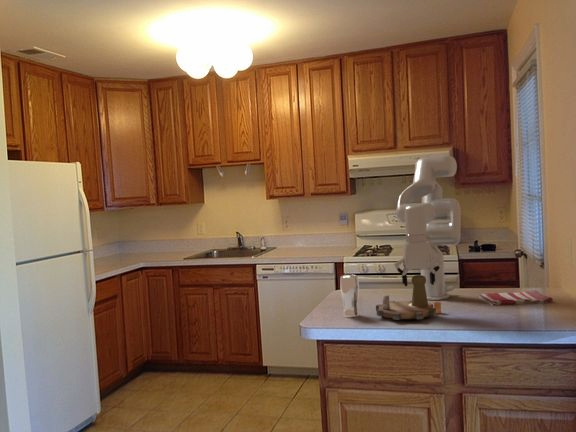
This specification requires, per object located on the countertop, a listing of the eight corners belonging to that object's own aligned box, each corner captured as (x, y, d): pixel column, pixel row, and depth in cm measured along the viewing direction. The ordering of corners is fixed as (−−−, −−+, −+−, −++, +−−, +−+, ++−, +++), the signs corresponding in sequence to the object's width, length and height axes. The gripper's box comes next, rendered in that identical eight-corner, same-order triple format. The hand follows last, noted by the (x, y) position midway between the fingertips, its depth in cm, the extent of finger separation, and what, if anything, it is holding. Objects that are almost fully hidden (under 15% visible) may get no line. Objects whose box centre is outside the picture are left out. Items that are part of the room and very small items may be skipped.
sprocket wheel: (416, 303, 196) (416, 285, 196) (448, 315, 175) (447, 295, 175) (365, 309, 190) (364, 291, 190) (391, 322, 169) (390, 302, 169)
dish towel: (554, 304, 190) (554, 297, 190) (492, 307, 191) (492, 300, 191) (533, 295, 207) (533, 288, 207) (477, 297, 208) (477, 291, 208)
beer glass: (355, 318, 183) (353, 278, 182) (338, 316, 187) (336, 277, 186) (363, 314, 189) (361, 274, 188) (346, 312, 193) (344, 274, 192)
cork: (429, 303, 185) (428, 274, 184) (426, 307, 179) (425, 277, 179) (413, 302, 187) (412, 274, 187) (409, 306, 182) (408, 276, 181)
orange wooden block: (424, 307, 193) (423, 297, 193) (444, 314, 182) (444, 303, 182) (382, 314, 186) (381, 304, 186) (401, 321, 175) (400, 310, 175)
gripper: (437, 236, 186) (439, 281, 187) (391, 239, 186) (393, 284, 188) (443, 238, 178) (445, 285, 179) (394, 241, 179) (397, 288, 180)
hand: (418, 284), depth 184 cm, fingers open, 9 cm apart
